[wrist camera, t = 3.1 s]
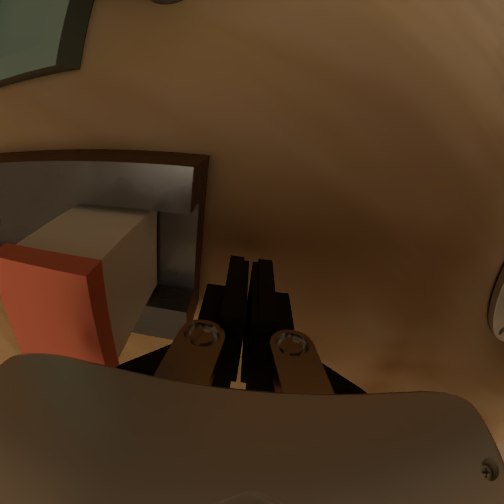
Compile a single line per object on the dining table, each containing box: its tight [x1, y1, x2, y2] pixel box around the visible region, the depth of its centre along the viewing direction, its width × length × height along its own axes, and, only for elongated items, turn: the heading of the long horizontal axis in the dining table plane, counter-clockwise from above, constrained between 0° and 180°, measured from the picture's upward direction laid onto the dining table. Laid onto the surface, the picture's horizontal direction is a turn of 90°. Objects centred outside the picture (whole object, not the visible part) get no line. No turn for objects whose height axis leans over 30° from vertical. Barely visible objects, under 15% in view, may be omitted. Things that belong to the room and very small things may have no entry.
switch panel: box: [0, 149, 210, 340], centre depth 15 cm, size 18×9×4 cm, turn 83°
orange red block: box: [0, 204, 157, 368], centre depth 11 cm, size 4×5×7 cm
